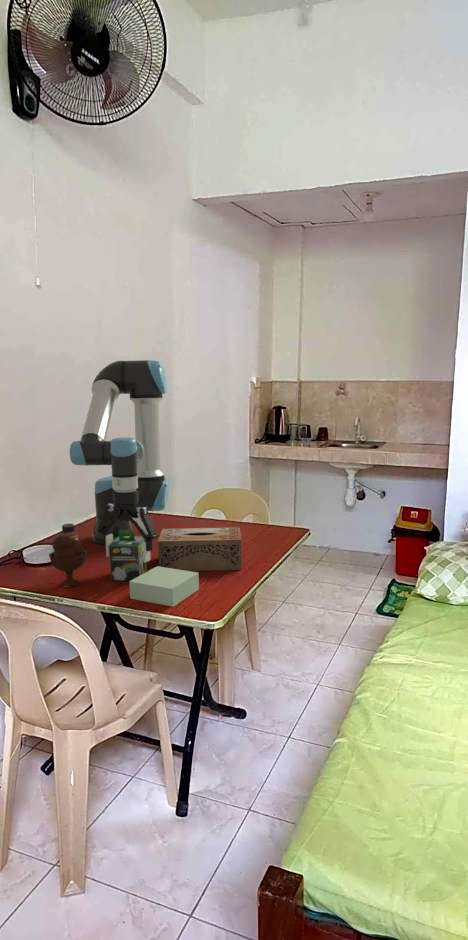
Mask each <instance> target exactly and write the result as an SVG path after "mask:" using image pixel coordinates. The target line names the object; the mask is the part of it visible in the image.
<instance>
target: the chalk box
mask: <svg viewBox="0 0 468 940" xmlns="http://www.w3.org/2000/svg"><path fill="white" fill-rule="evenodd" d="M134 531H135V530H133V531H127V530H120V531H119V537H117V538H116V539H114V540H113V541H112V543H111V544H110V545H109V554H110V556H109V565H110V566H109V567H110V578H111V581H112V580H113V581H114V582H115V581H119V582H120V581H121V582H123V581H124V582H129V581H131V580H133V579H135V578H137V577H138V576H140V575H142V574H144V573H146V572H148V566H147V565H148V564H147V562H148V561H147V562H143V541H144V540H145V539H144V538H143V536H142V535H140V536H139V535H135V532H134ZM124 534H129V535H130V536H123V535H124Z"/></svg>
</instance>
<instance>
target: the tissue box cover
mask: <svg viewBox="0 0 468 940" xmlns="http://www.w3.org/2000/svg"><path fill="white" fill-rule="evenodd" d="M159 534H160V535H159V537H158V540H157V550H158V555H157V556H158V566H159V567H165V568H172V569H178V570H184V571H191V572H197V571H198V572H199V571H239V570H240V571H241V570H242V535H241V528H240V527H238V526H237V527H192V528H191V527H188V528H187V527H185V528H181V527H180V528H161V531H160V533H159Z"/></svg>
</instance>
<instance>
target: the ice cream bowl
mask: <svg viewBox="0 0 468 940" xmlns="http://www.w3.org/2000/svg"><path fill="white" fill-rule="evenodd" d="M51 545H52V548H53V551H51V552H50V553H49V554H48V556H49V560H50V562H51V564H52V566H53V567H54V568H55V569H57V570H58V571H61V572H65V574H66V579H64V580H62V581H61V582H60V584H61V585H62V586H74V587H77V586H78V584H79V585H80V582H79V579H75V578H74V577H73V572H74V571H76V570H78V569H80V567H82V566H83V564H85V562H86V561H87V557H88V551H87V550H86V549H84V546H83V544H82V543H81V542H80V541H79V539H78V540H76V539H72V538H70V537H69V536H65V535H62V536H60V535H59V536H56V537H55V538H54V539H53V541H52V544H51ZM61 585H60V586H61ZM76 585H77V586H76Z"/></svg>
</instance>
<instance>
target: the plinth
mask: <svg viewBox="0 0 468 940" xmlns="http://www.w3.org/2000/svg"><path fill="white" fill-rule="evenodd" d="M199 580H200V577H199V572H197V571H184V570H178V569H172V568H165V567H159V565H157V566H155V567H153V568H150V569H149V570H147V572H146V573H144V574H142V575H140V576H138V577H137V578H135V579H133V580H131V581H128V582H129V598H130V599H132V600H136V601H141V602H147V603H152V604H157V605H163V606H167V607H168V606H169V607H176V606H177V605H178V604H180V603H181V602H182V601H184V600H186V599H187V598H189V597H190V596H191V595H193V594H194V593H196V592H197V591H199V589H200V583H199V582H200V581H199Z"/></svg>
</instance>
